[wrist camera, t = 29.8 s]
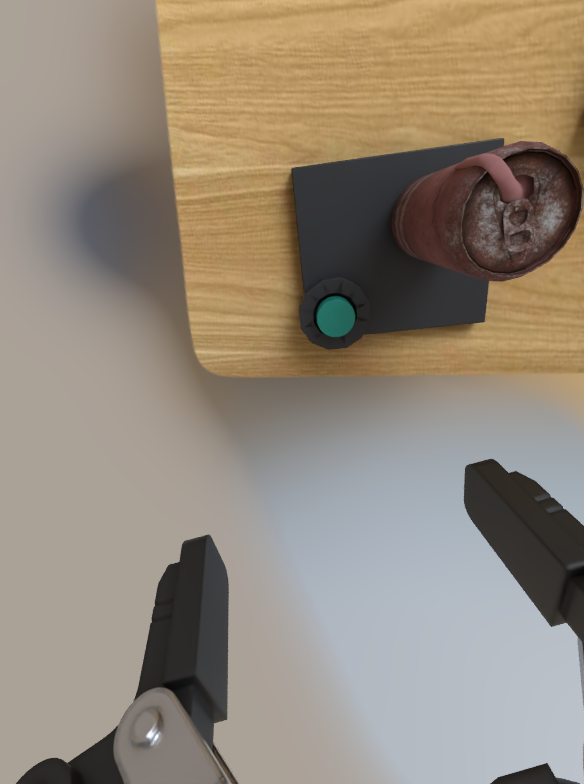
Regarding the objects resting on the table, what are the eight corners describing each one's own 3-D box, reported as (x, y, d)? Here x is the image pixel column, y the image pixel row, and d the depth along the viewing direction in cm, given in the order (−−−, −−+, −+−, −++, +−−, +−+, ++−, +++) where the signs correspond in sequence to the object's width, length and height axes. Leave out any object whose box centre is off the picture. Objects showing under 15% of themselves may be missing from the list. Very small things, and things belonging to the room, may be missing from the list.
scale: (303, 342, 36) (303, 352, 33) (285, 171, 29) (283, 166, 27) (477, 324, 34) (492, 333, 32) (495, 141, 28) (516, 132, 25)
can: (428, 153, 27) (536, 94, 15) (482, 212, 29) (620, 206, 16) (371, 221, 30) (422, 221, 17) (424, 273, 31) (507, 309, 18)
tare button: (318, 334, 32) (318, 339, 31) (314, 298, 31) (315, 301, 30) (353, 330, 32) (356, 335, 31) (352, 293, 31) (354, 297, 29)
